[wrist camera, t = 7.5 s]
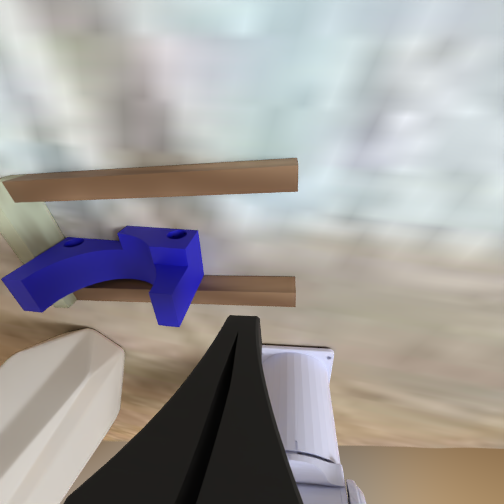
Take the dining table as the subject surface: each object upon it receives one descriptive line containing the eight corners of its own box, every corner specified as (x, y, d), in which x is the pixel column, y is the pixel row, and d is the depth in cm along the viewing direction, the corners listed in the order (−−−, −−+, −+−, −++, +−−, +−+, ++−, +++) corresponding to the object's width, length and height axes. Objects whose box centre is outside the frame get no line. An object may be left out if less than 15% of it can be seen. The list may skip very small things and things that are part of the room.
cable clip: (198, 229, 19) (166, 275, 14) (204, 273, 21) (179, 327, 16) (61, 220, 20) (-13, 260, 15) (82, 263, 23) (23, 310, 18)
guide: (294, 290, 21) (295, 316, 18) (78, 285, 24) (54, 307, 22) (296, 157, 15) (299, 169, 12) (11, 175, 18) (-33, 187, 16)
